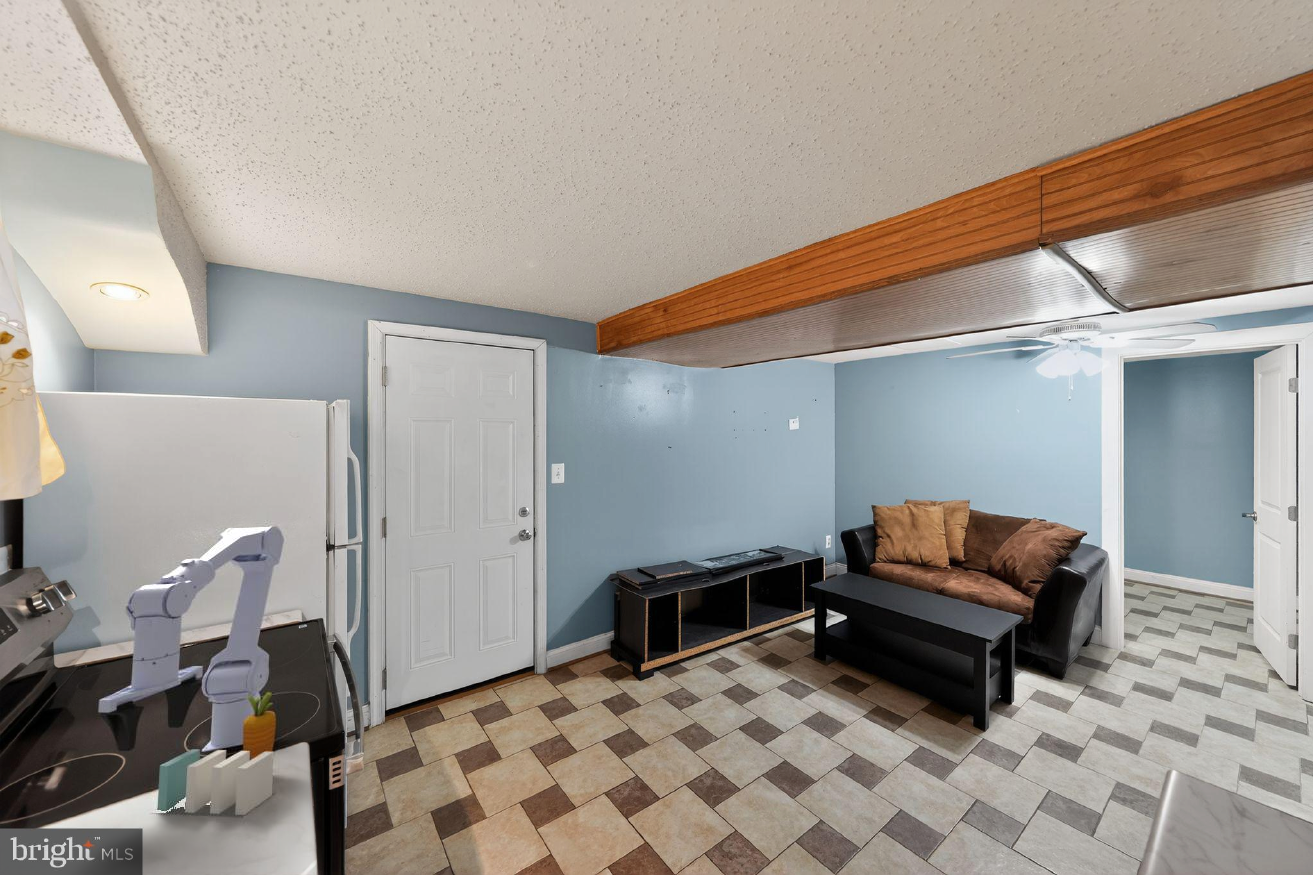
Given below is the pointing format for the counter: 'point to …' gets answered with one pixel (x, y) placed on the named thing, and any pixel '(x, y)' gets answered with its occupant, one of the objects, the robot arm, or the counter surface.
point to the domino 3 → (254, 782)
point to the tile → (174, 779)
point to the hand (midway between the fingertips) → (151, 737)
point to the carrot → (259, 728)
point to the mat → (206, 811)
